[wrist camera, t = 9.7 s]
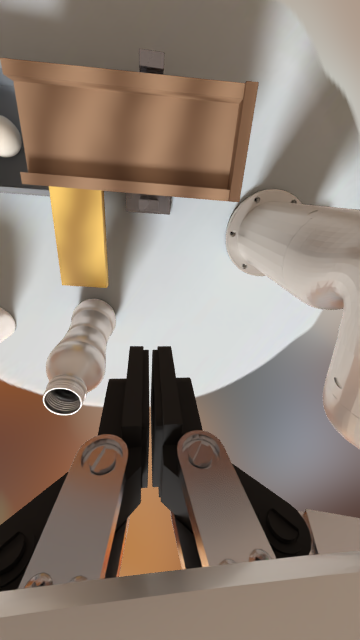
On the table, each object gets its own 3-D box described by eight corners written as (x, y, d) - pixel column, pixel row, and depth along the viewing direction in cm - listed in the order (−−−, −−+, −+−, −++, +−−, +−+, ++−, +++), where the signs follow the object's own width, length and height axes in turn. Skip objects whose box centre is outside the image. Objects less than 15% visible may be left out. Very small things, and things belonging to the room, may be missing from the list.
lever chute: (241, 105, 27) (258, 82, 21) (216, 279, 35) (223, 297, 30) (36, 85, 26) (-4, 54, 20) (60, 269, 35) (37, 284, 29)
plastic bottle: (96, 286, 41) (57, 362, 23) (126, 315, 43) (112, 403, 26) (67, 310, 42) (9, 399, 24) (98, 337, 45) (66, 435, 27)
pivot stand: (175, 87, 31) (189, 39, 21) (169, 213, 37) (177, 223, 27) (124, 80, 30) (113, 27, 20) (126, 210, 36) (118, 219, 26)
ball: (-32, 111, 28) (9, 120, 30) (-22, 154, 29) (16, 159, 32) (-20, 106, 25) (23, 117, 28) (-10, 154, 27) (30, 159, 30)
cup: (77, 89, 30) (38, 34, 19) (85, 196, 35) (58, 200, 24) (-30, 75, 28) (-136, 7, 18) (-5, 189, 33) (-76, 190, 23)
